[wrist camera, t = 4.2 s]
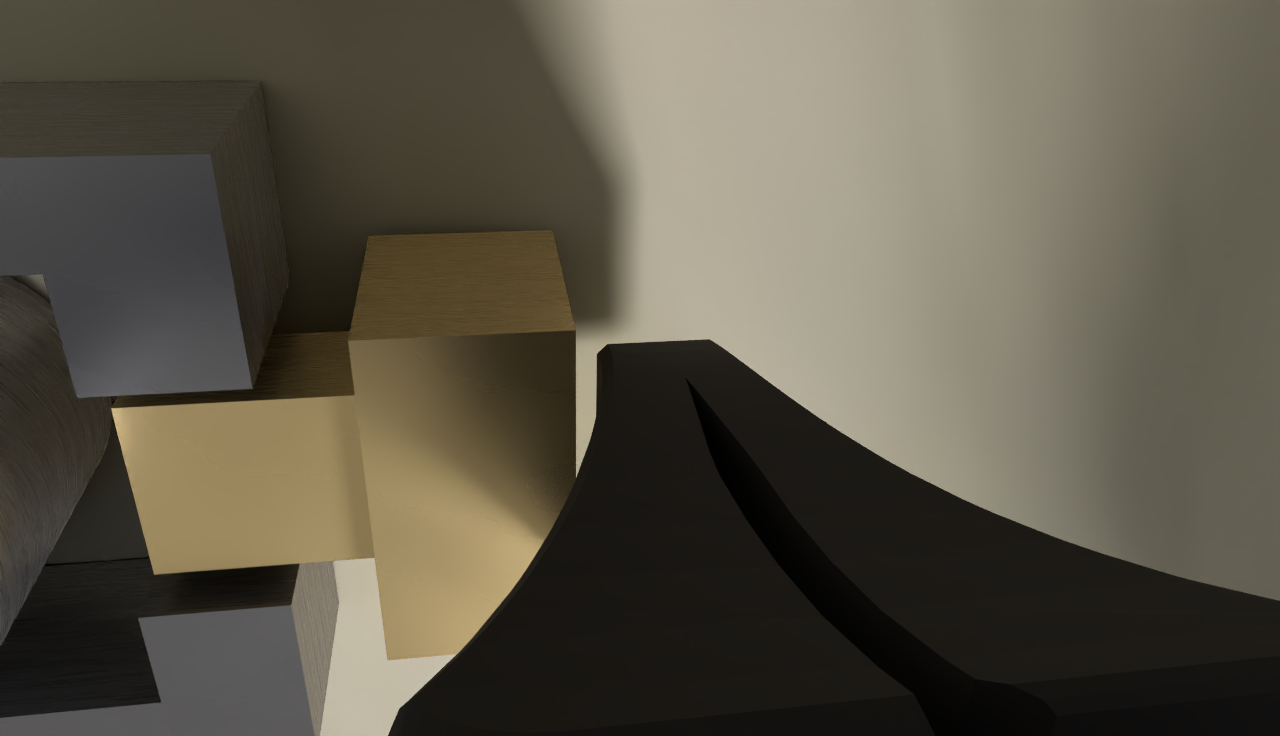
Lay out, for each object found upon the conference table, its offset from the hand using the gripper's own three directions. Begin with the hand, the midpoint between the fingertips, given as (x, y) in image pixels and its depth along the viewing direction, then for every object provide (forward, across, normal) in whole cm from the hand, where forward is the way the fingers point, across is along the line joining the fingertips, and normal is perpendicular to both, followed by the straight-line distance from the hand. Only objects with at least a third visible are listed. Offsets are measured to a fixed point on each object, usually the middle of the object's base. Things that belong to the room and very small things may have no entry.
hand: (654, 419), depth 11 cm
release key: (+1, +3, 0) cm, 3 cm away
